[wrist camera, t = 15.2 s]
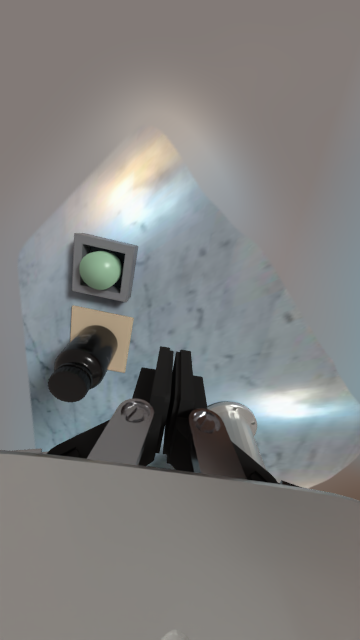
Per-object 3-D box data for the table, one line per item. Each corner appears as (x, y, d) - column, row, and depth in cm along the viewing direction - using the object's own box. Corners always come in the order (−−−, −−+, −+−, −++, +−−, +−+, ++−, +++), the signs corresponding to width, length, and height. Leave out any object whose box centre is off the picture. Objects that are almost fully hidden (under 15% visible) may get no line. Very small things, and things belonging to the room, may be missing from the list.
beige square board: (125, 371, 41) (124, 372, 41) (70, 361, 40) (69, 362, 40) (133, 317, 37) (133, 318, 37) (72, 305, 36) (72, 305, 36)
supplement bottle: (75, 351, 39) (33, 399, 28) (83, 318, 36) (42, 355, 25) (113, 363, 40) (87, 414, 29) (123, 331, 37) (100, 373, 26)
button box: (130, 296, 35) (126, 302, 33) (80, 286, 35) (71, 290, 32) (138, 245, 33) (134, 247, 30) (83, 233, 32) (74, 233, 29)
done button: (120, 287, 34) (114, 293, 31) (87, 280, 33) (78, 285, 30) (124, 254, 32) (119, 257, 29) (89, 246, 31) (80, 248, 28)
